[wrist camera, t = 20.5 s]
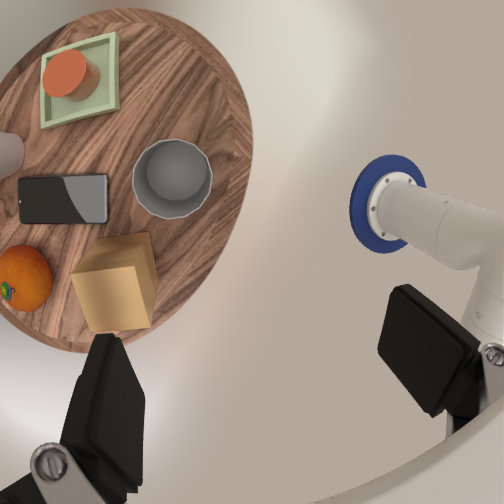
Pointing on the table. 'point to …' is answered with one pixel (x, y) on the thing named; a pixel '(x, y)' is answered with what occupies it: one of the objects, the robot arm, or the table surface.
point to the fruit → (24, 278)
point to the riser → (117, 283)
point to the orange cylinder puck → (71, 76)
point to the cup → (172, 178)
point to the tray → (104, 96)
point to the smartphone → (63, 199)
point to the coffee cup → (10, 154)
